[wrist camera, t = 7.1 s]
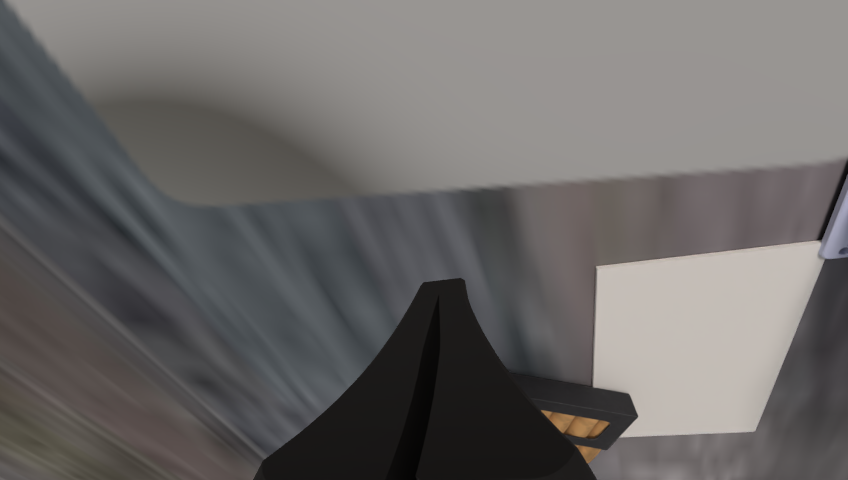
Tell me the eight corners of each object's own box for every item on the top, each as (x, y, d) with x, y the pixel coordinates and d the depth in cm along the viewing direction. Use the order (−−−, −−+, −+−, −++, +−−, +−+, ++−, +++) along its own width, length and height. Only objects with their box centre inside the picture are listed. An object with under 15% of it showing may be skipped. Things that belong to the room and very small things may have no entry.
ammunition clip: (491, 369, 28) (462, 446, 35) (492, 391, 26) (462, 467, 33) (630, 393, 28) (573, 466, 34) (639, 417, 26) (578, 488, 33)
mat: (827, 239, 21) (832, 241, 20) (752, 428, 29) (754, 431, 29) (595, 266, 23) (597, 269, 23) (589, 435, 32) (591, 438, 31)
